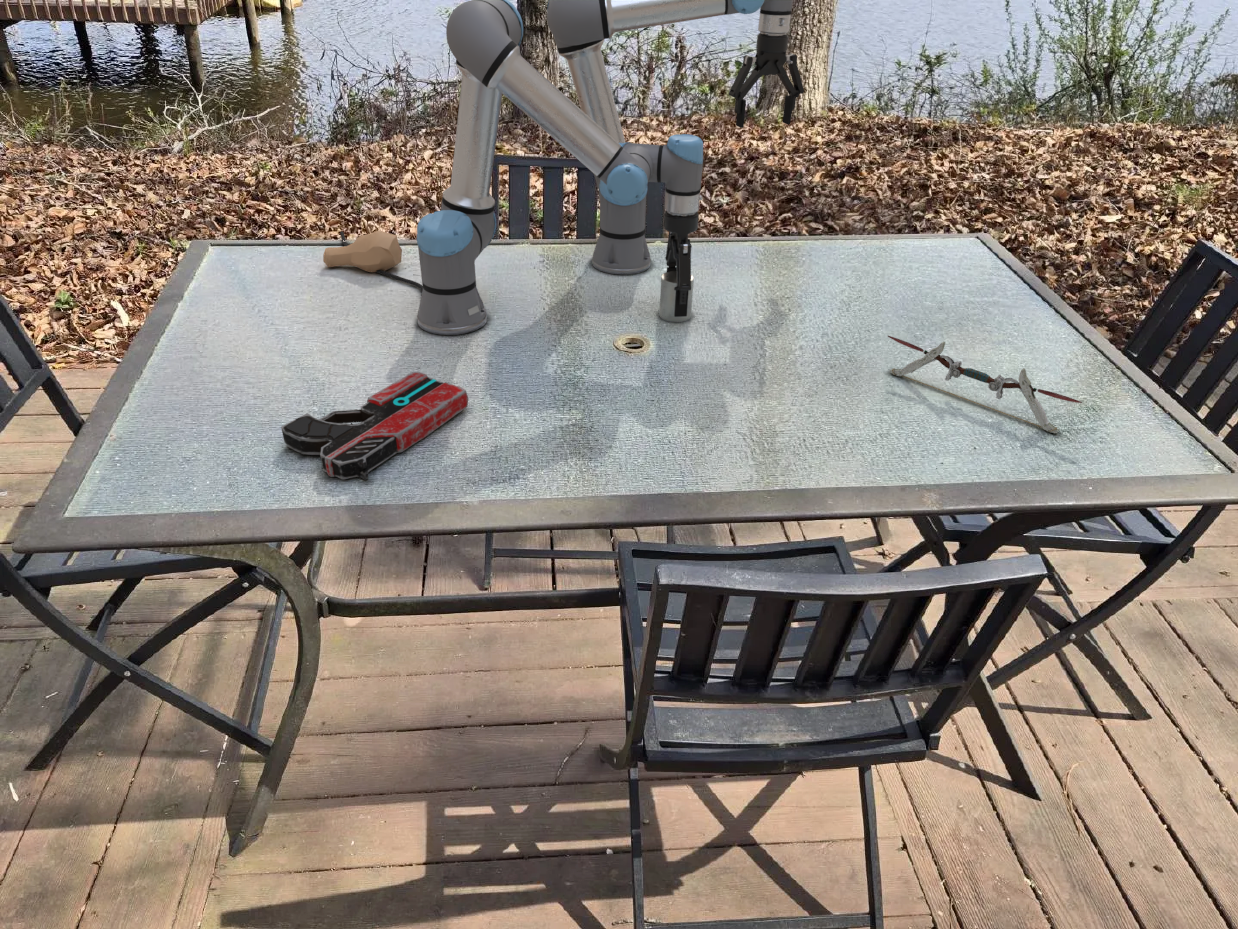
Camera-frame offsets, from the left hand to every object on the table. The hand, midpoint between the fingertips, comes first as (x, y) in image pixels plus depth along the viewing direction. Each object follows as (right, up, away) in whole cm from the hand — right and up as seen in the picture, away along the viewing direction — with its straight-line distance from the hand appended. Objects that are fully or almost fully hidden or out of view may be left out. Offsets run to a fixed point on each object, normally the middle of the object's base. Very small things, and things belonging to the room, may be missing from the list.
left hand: (675, 304), depth 201 cm
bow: (+56, -24, -29) cm, 68 cm away
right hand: (+24, +50, +23) cm, 60 cm away
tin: (0, -2, +2) cm, 3 cm away
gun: (-56, -31, -43) cm, 77 cm away
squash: (-78, +13, +21) cm, 82 cm away
